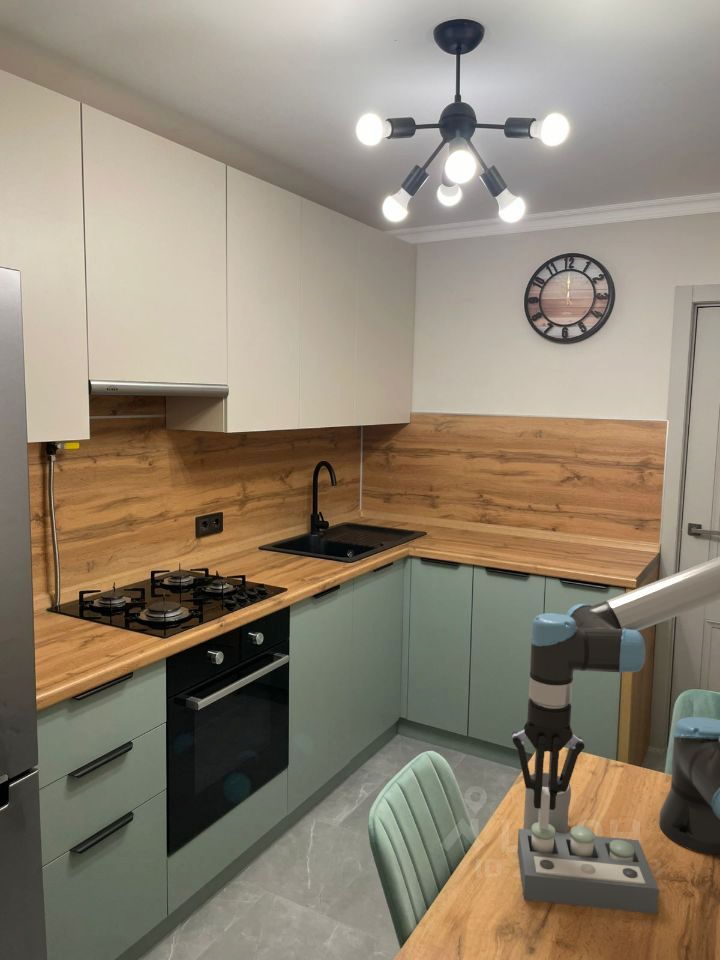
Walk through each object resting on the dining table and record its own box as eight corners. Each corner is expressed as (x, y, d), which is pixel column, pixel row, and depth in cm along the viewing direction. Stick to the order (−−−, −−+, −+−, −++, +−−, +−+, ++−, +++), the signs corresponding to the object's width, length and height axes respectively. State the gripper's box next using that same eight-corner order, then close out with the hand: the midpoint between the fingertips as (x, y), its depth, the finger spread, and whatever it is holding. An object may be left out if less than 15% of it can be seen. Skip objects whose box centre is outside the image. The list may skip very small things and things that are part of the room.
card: (638, 868, 127) (638, 865, 127) (645, 884, 123) (645, 881, 123) (533, 857, 129) (533, 855, 129) (536, 873, 125) (536, 870, 125)
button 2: (629, 863, 134) (631, 841, 133) (635, 877, 130) (636, 854, 129) (606, 860, 134) (607, 838, 134) (610, 875, 130) (612, 852, 130)
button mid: (591, 849, 134) (592, 827, 134) (595, 863, 130) (596, 840, 130) (567, 846, 135) (569, 824, 135) (571, 860, 131) (572, 838, 130)
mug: (551, 853, 138) (553, 799, 137) (514, 833, 145) (516, 781, 143) (585, 830, 146) (588, 778, 145) (549, 812, 152) (551, 762, 151)
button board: (637, 862, 136) (638, 840, 135) (657, 914, 122) (658, 889, 122) (517, 850, 139) (518, 828, 138) (523, 899, 125) (525, 874, 125)
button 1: (552, 845, 135) (553, 823, 135) (555, 858, 131) (556, 836, 131) (529, 842, 136) (530, 821, 135) (531, 856, 132) (532, 834, 131)
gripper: (583, 695, 134) (576, 816, 136) (511, 689, 135) (505, 809, 138) (590, 711, 126) (583, 840, 128) (514, 705, 128) (508, 832, 130)
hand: (543, 824), depth 133 cm, fingers closed
